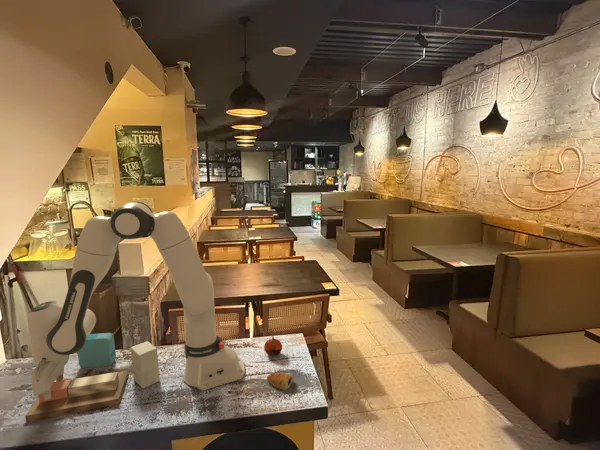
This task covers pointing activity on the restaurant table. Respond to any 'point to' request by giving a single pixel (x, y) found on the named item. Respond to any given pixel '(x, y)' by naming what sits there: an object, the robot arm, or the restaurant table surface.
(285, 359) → the restaurant table surface
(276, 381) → the pastry
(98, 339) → the data package
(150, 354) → the small box
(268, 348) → the pomegranate
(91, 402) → the board
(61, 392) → the orange rectangular block
